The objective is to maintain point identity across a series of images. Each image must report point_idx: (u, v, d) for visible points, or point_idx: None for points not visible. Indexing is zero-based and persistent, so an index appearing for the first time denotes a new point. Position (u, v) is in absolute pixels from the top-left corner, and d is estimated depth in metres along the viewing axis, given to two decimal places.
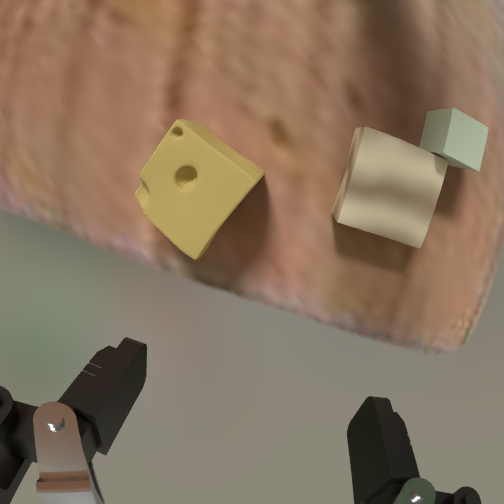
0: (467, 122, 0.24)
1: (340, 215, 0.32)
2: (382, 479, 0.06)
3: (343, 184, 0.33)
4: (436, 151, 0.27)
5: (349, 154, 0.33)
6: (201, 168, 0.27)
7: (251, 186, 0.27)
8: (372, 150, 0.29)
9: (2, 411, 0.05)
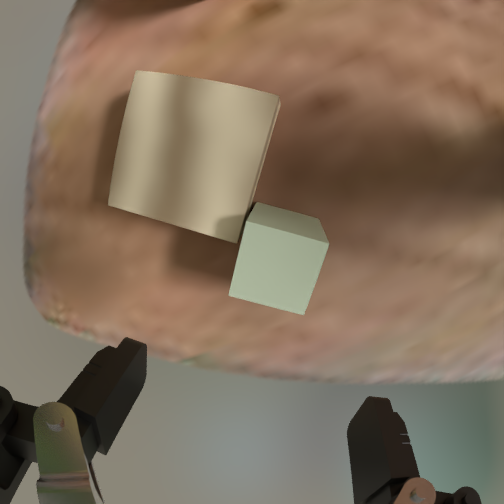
0: (306, 272, 0.20)
1: (144, 72, 0.18)
2: (382, 479, 0.06)
3: None
4: (250, 215, 0.21)
5: None
6: None
7: None
8: (240, 107, 0.19)
9: (2, 411, 0.05)
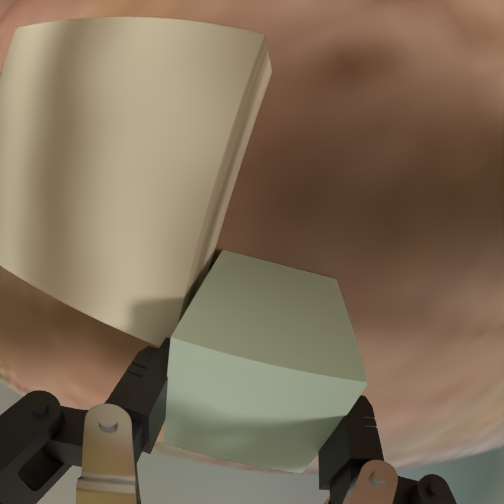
0: (312, 427, 0.08)
1: (25, 28, 0.07)
2: (343, 460, 0.07)
3: None
4: (192, 306, 0.09)
5: None
6: None
7: None
8: (173, 62, 0.07)
9: (50, 417, 0.05)
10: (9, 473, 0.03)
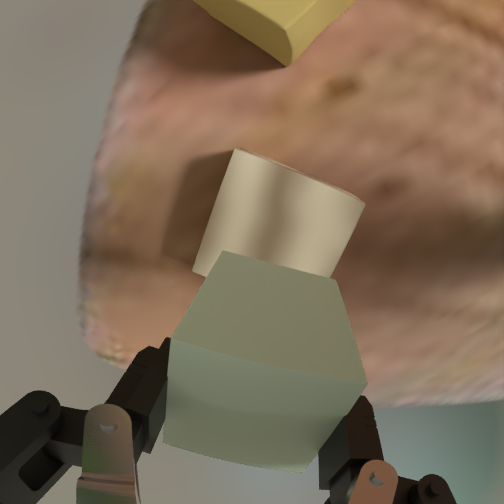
0: (312, 427, 0.08)
1: (244, 153, 0.22)
2: (343, 460, 0.07)
3: (284, 165, 0.25)
4: (192, 307, 0.09)
5: (322, 180, 0.26)
6: None
7: (278, 23, 0.14)
8: (332, 208, 0.23)
9: (50, 417, 0.05)
10: (9, 473, 0.03)
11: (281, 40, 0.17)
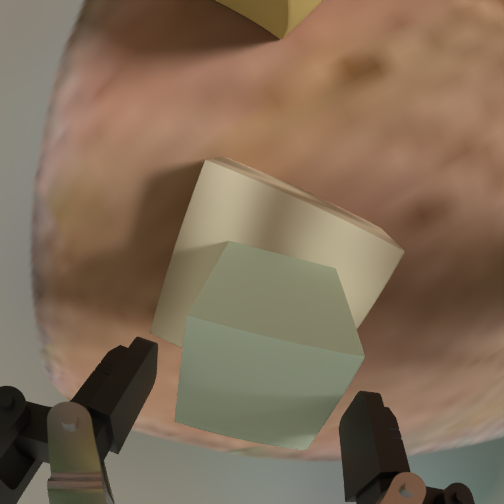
0: (315, 401, 0.09)
1: (220, 168, 0.14)
2: (372, 473, 0.06)
3: (283, 185, 0.17)
4: (205, 290, 0.10)
5: (337, 207, 0.18)
6: None
7: None
8: (355, 258, 0.15)
9: (15, 412, 0.05)
10: None
11: None
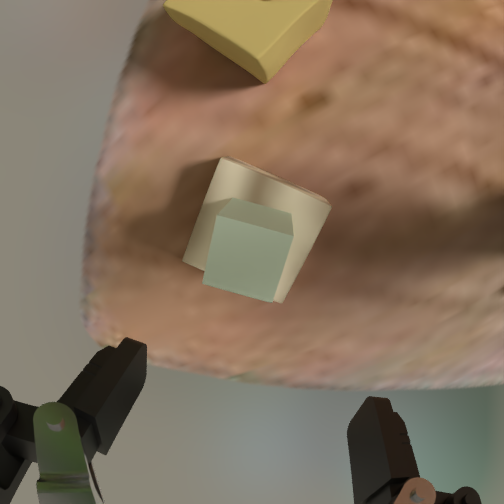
0: (273, 262, 0.22)
1: (228, 162, 0.26)
2: (382, 479, 0.06)
3: (263, 172, 0.29)
4: (223, 210, 0.23)
5: (296, 185, 0.30)
6: (275, 4, 0.17)
7: (252, 53, 0.19)
8: (302, 210, 0.27)
9: (2, 411, 0.05)
10: None
11: (256, 65, 0.21)
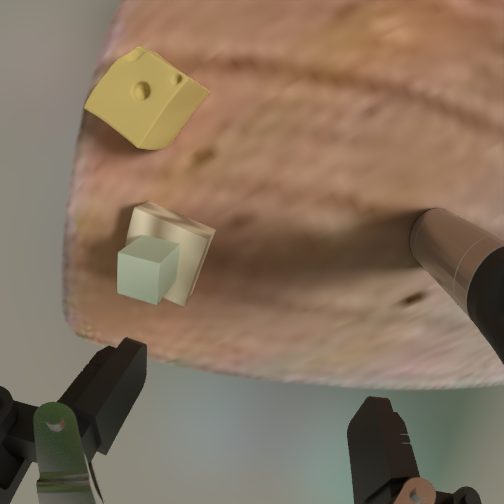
0: (152, 280, 0.33)
1: (139, 210, 0.38)
2: (382, 479, 0.06)
3: (167, 214, 0.41)
4: (125, 247, 0.34)
5: (193, 221, 0.42)
6: (147, 102, 0.29)
7: (134, 144, 0.30)
8: (188, 242, 0.39)
9: (2, 411, 0.05)
10: None
11: None
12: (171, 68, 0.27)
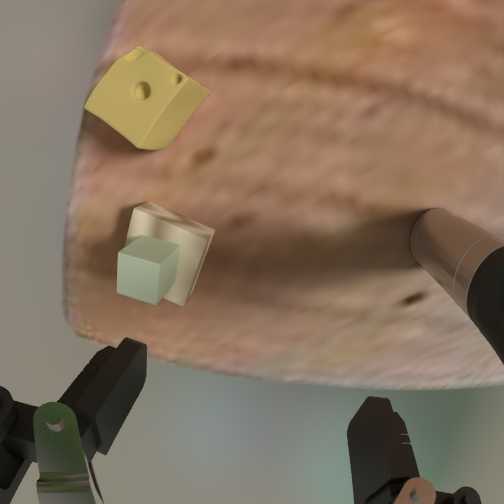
0: (151, 280, 0.33)
1: (138, 211, 0.38)
2: (382, 479, 0.06)
3: (166, 214, 0.41)
4: (125, 247, 0.34)
5: (192, 221, 0.42)
6: (147, 102, 0.29)
7: (134, 144, 0.30)
8: (187, 242, 0.39)
9: (2, 411, 0.05)
10: None
11: None
12: (171, 68, 0.27)
